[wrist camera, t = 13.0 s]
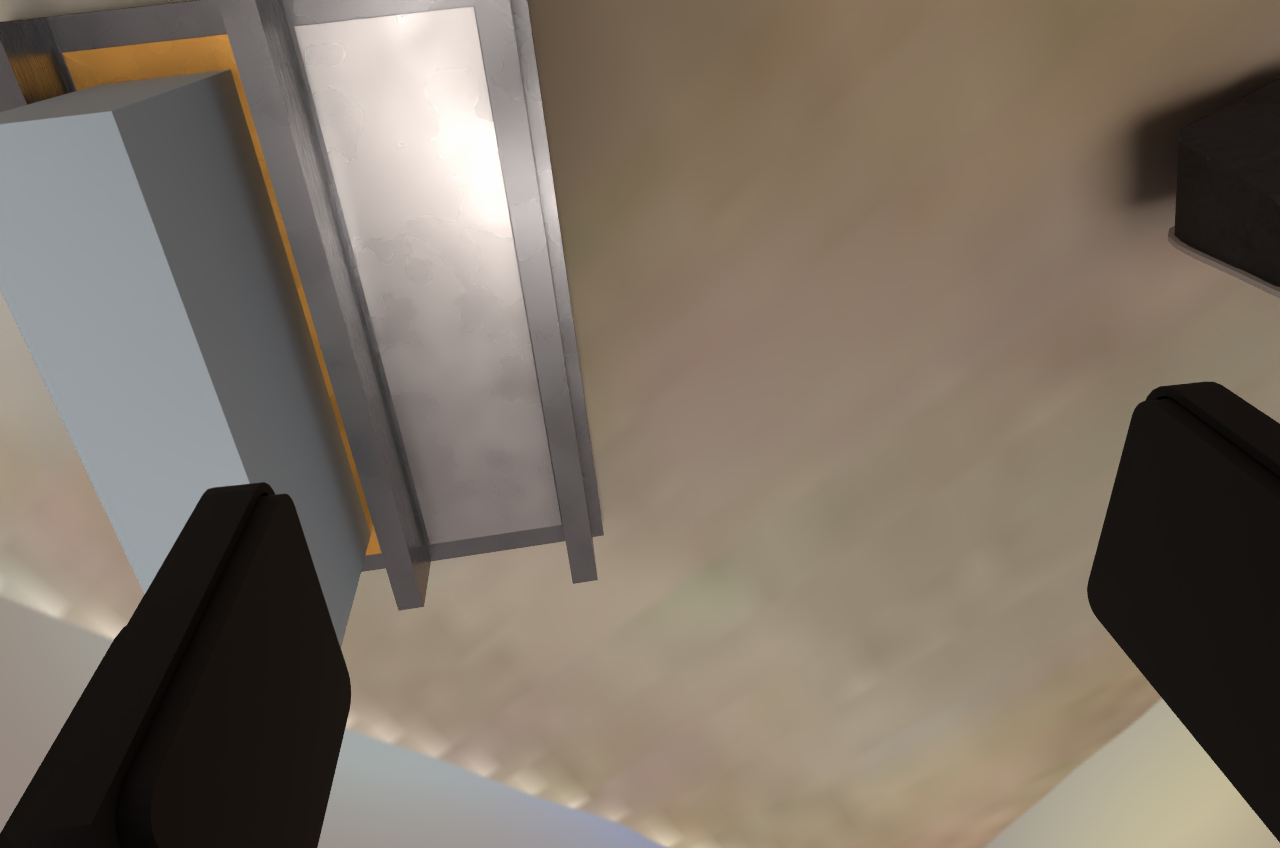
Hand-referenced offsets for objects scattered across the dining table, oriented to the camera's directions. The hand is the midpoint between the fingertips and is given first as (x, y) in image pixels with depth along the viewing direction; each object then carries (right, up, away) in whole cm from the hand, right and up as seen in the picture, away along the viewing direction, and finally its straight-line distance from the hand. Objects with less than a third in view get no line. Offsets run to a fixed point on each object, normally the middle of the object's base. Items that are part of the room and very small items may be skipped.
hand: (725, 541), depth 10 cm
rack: (-12, +5, +23) cm, 26 cm away
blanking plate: (-15, +4, +22) cm, 27 cm away
